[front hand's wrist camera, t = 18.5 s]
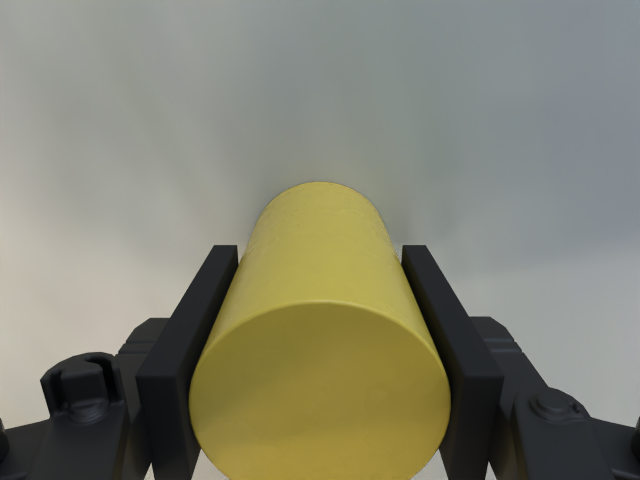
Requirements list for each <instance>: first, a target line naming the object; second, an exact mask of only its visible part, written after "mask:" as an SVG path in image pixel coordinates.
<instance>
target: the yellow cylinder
mask: <svg viewBox="0 0 640 480" xmlns="http://www.w3.org/2000/svg"><path fill="white" fill-rule="evenodd" d="M188 407H189V414H190V421H191V425H192V428H193V431H194V435H195V437H196V439H197V441H198V443H199V445H200V447H201V449H202V450H203V451H204V453H205V454H206V456H207V457H208V459H209V460H210V461H211V462H212V463H213V464H214V465H215V467H216V468H217V469H218V470H219V471H221V472H222V473H223V474H224V475H225V476H226V477H228V478H229V479H230V480H409V479H411V478H412V477H413V476H414V475H416V474H417V473H418V472H419V471H420V470H421V469H422V468H423V467H424V466H425V465H426V464H427V463H428V462H429V461H430V460H431V458H432V457H433V455H434V454H435V453H436V451H437V450H438V448H439V446H440V444H441V442H442V440H443V438H444V436H445V434H446V430H447V427H448V424H449V419H450V412H451V391H450V386H449V381H448V378H447V375H446V372H445V370H444V367H443V364H442V362H441V360H440V357H439V355H438V352H437V350H436V348H435V345H434V343H433V340H432V338H431V336H430V333H429V331H428V328H427V326H426V324H425V321H424V319H423V316H422V314H421V312H420V309H419V307H418V304H417V302H416V300H415V297H414V295H413V293H412V290H411V288H410V285H409V283H408V281H407V278H406V276H405V273H404V271H403V269H402V266H401V264H400V261H399V259H398V257H397V254H396V252H395V249H394V247H393V245H392V242H391V240H390V237H389V235H388V233H387V230H386V228H385V225H384V223H383V221H382V219H381V217H380V215H379V213H378V212H377V210H376V209H375V208H374V206H373V205H372V204H371V203H370V202H369V201H368V200H367V199H366V198H365V197H363V196H362V195H361V194H360V193H358V192H356V191H354V190H353V189H351V188H348V187H346V186H343V185H340V184H336V183H330V182H310V183H304V184H300V185H297V186H294V187H292V188H289V189H287V190H286V191H284V192H282V193H280V194H279V195H278V196H277V197H275V198H274V199H273V200H272V201H271V202H270V203H269V204H268V205H267V206H266V207H265V209H264V210H263V211H262V213H261V215H260V217H259V218H258V221H257V223H256V225H255V228H254V230H253V232H252V235H251V237H250V240H249V242H248V244H247V247H246V249H245V252H244V254H243V256H242V259H241V261H240V263H239V266H238V268H237V271H236V273H235V275H234V278H233V280H232V282H231V285H230V287H229V290H228V292H227V294H226V297H225V299H224V302H223V304H222V306H221V309H220V311H219V313H218V316H217V318H216V321H215V323H214V325H213V328H212V330H211V333H210V335H209V337H208V340H207V342H206V344H205V347H204V349H203V352H202V354H201V356H200V359H199V361H198V364H197V366H196V369H195V371H194V374H193V377H192V379H191V384H190V389H189V403H188Z"/></svg>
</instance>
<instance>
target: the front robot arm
mask: <svg viewBox="0 0 640 480" xmlns="http://www.w3.org/2000/svg"><path fill="white" fill-rule="evenodd" d="M238 266H239V265H238V251H237V245H214V246H213V248H212V250H211V251H210V253H209V255H208V256H207V258H206V260H205V261H204V263H203V264H202V266H201V268H200V269H199V271H198V273H197V274H196V276H195V278H194V279H193V281H192V283H191V284H190V286H189V288H188V289H187V291H186V293H185V294H184V296H183V297H182V299H181V301H180V302H179V304H178V306H177V307H176V309H175V311H174V312H173V314H172V316H171V317H170V318H149V319H148V320H146V321H145V322H144V323H142V324H141V325H139V326H138V327H136V328H135V329H134V330H133V332H132V333H131V335H130V336H129V337H128V339H127V340H126V344H123V346H122V347H121V348H120V350H119V351H118V354H116V355H115V357H114V356H113V355H112V354H108V353H103V352H91V353H84V354H80V355H76V356H73V357H70V358H68V359H66V360H64V361H61V362H59V363H58V364H56V365H55V366H53V367H52V368H51V369H49V370H48V371H47V372H46V373H45V374H44V376H43V377H42V378H41V379H40V382H41V386H42V389H43V393H44V396H45V399H46V403H47V406H48V410H49V413H50V418H49V419H47V420H44V421H41V422H37V423H32V424H28V425H23V426H19V427H14V428H10V429H6V430H5V429H4V426H3V423H2V420H1V418H0V480H144V478H145V476H146V473H147V471H148V469H149V466H150V464H151V463H152V468H153V473H154V478H155V480H191V479H192V475H193V472H194V469H195V466H196V463H197V459H198V456H199V453H200V450H201V447H200V445H199V443H198V441H197V439H196V437H195V435H194V431H193V428H192V425H191V421H190V414H189V407H188V403H189V389H190V384H191V379H192V377H193V374H194V371H195V369H196V366H197V364H198V361H199V359H200V356H201V354H202V352H203V349H204V347H205V344H206V342H207V340H208V337H209V335H210V333H211V330H212V328H213V325H214V323H215V321H216V318H217V316H218V313H219V311H220V309H221V306H222V304H223V302H224V299H225V297H226V294H227V292H228V290H229V287H230V285H231V282H232V280H233V278H234V275H235V273H236V271H237V268H238ZM401 266H402V269H403V271H404V273H405V276H406V278H407V281H408V283H409V285H410V288H411V290H412V293H413V295H414V297H415V300H416V302H417V304H418V307H419V309H420V312H421V314H422V316H423V319H424V321H425V324H426V326H427V328H428V331H429V333H430V336H431V338H432V340H433V343H434V345H435V348H436V350H437V352H438V355H439V357H440V360H441V362H442V364H443V367H444V370H445V372H446V375H447V378H448V381H449V386H450V391H451V412H450V419H449V424H448V427H447V430H446V434H445V436H444V438H443V440H442V442H441V444H440V446H439V451H440V454H441V457H442V460H443V463H444V467H445V470H446V473H447V476H448V479H449V480H485V477H486V472H487V466H488V461H489V462H490V465H491V467H492V469H493V472H494V474H495V476H496V479H497V480H640V417H639V419H638V422H637V425H636V428H634V427H629V426H625V425H620V424H616V423H611V422H607V421H603V420H599V419H595V418H592V417H590V415H589V414H588V412H587V411H586V409H585V408H584V406H583V405H582V404H581V403H579V402H578V401H577V400H576V399H574V398H573V397H572V396H570V395H568V394H566V393H564V392H562V391H560V390H558V389H554V388H550V387H548V386H547V384H546V383H545V382H544V380H543V379H542V377H541V376H540V375H539V373H538V372H537V370H536V369H535V368H534V366H533V365H532V364H531V362H530V361H529V359H528V358H527V357H526V355H525V354H524V353H522V350H521V348H520V347H519V346H518V344H517V343H516V342H514V339H513V337H512V336H511V334H510V333H509V332H508V330H507V329H506V328H505V327H504V326H503V325H501V324H500V323H498V322H497V321H496V320H494V319H493V318H491V317H469V316H468V314H467V313H466V311H465V309H464V308H463V306H462V304H461V303H460V301H459V300H458V298H457V296H456V295H455V293H454V291H453V290H452V288H451V286H450V285H449V283H448V281H447V280H446V278H445V276H444V275H443V273H442V271H441V270H440V268H439V267H438V265H437V263H436V262H435V260H434V258H433V257H432V255H431V253H430V252H429V250H428V248H427V247H426V245H403V248H402V261H401Z"/></svg>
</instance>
